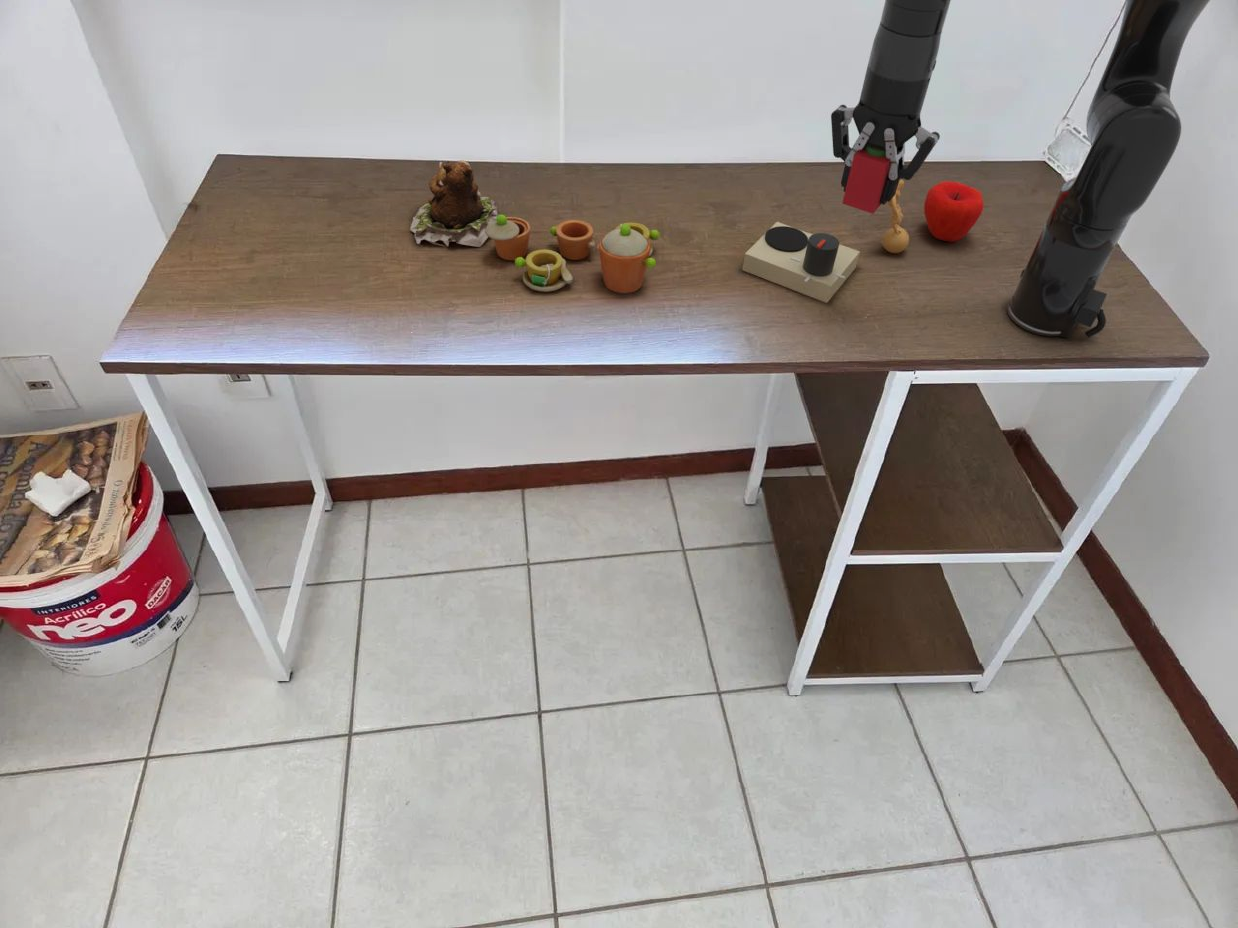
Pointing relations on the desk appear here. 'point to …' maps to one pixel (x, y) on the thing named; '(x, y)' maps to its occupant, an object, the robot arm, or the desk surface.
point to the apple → (952, 210)
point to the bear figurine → (454, 208)
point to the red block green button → (866, 179)
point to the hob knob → (820, 254)
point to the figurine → (896, 226)
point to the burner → (786, 239)
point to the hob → (798, 268)
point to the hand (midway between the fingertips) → (866, 195)
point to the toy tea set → (576, 252)
